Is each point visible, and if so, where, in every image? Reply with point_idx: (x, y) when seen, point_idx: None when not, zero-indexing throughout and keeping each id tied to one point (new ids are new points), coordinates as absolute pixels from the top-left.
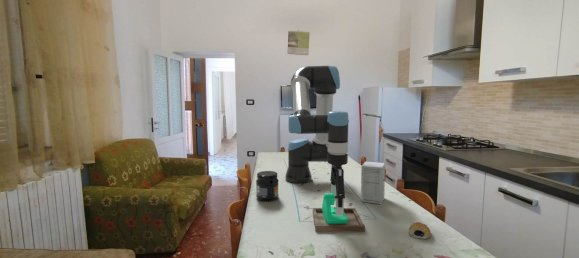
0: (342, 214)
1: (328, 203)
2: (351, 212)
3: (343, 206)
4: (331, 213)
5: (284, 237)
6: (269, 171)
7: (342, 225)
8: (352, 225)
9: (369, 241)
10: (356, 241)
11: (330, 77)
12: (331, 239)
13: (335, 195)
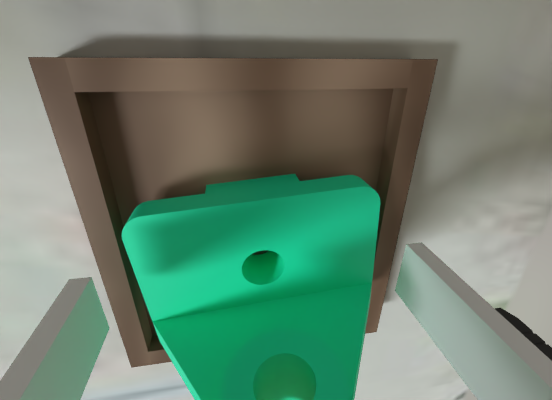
0: (425, 253)
1: (354, 390)
2: (104, 103)
3: (482, 298)
4: (273, 285)
5: (390, 386)
6: None
7: (395, 213)
8: (407, 151)
9: (525, 60)
10: (498, 138)
11: None
12: (445, 249)
13: (69, 350)
